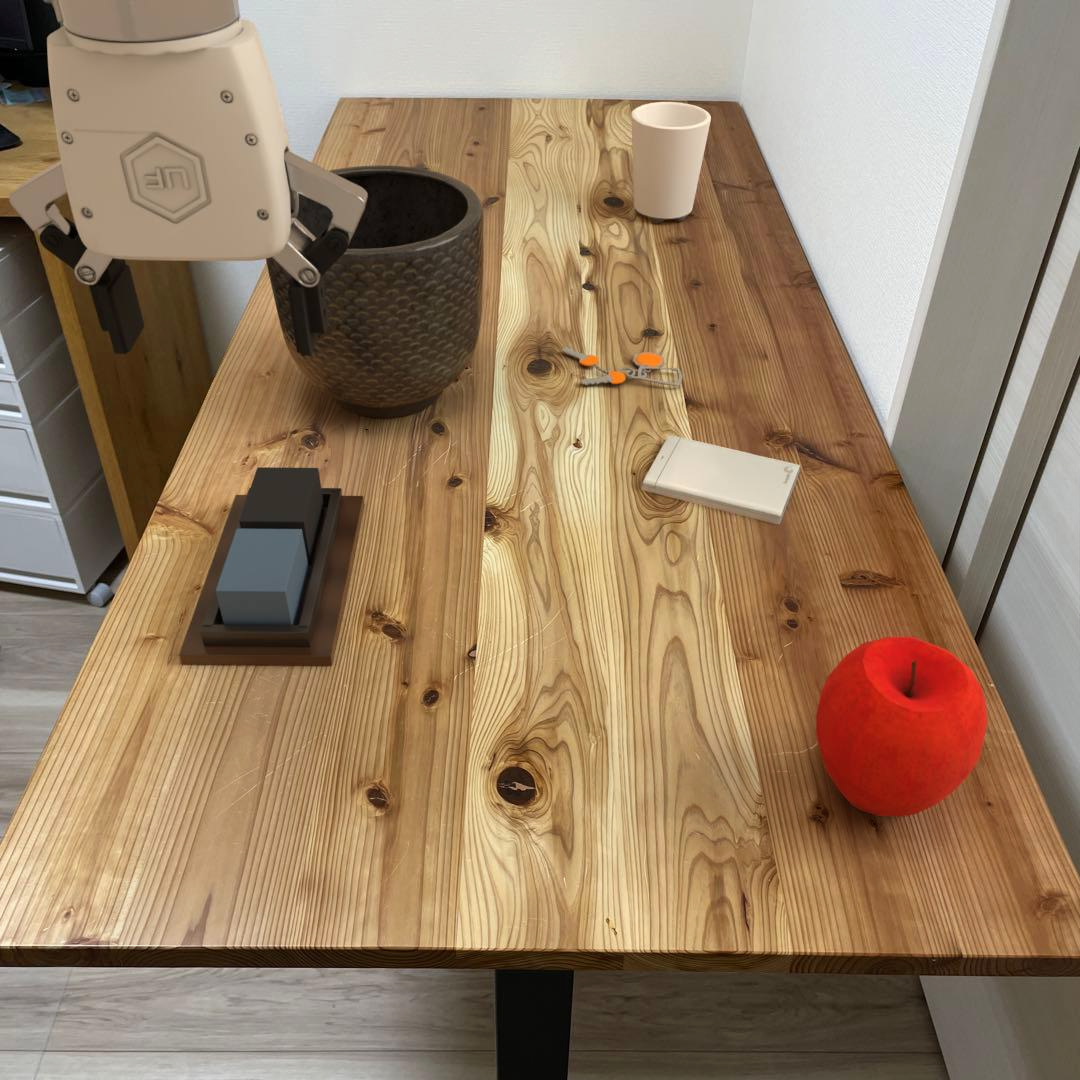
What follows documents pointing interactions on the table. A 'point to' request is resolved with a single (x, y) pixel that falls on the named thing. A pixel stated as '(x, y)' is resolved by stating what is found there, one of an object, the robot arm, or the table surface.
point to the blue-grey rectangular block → (263, 577)
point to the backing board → (318, 609)
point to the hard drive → (722, 479)
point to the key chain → (625, 368)
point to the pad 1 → (286, 503)
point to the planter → (395, 292)
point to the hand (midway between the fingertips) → (220, 342)
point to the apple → (900, 725)
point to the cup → (667, 158)
